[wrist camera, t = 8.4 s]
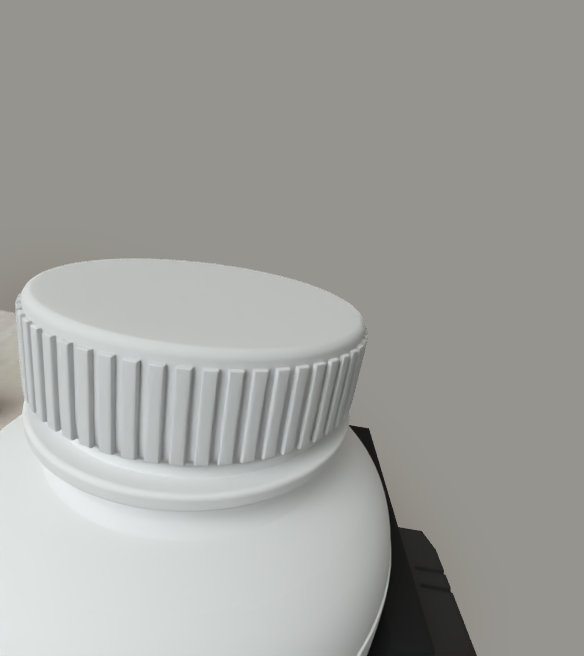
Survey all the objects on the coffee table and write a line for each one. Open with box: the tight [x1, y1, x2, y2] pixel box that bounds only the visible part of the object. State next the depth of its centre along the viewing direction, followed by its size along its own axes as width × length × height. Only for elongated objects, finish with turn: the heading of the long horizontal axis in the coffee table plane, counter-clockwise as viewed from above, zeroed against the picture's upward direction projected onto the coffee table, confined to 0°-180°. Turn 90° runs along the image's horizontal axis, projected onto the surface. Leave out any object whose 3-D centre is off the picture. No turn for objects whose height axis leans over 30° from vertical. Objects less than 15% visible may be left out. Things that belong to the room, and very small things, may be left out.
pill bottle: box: [0, 259, 391, 656], centre depth 8 cm, size 8×8×15 cm
